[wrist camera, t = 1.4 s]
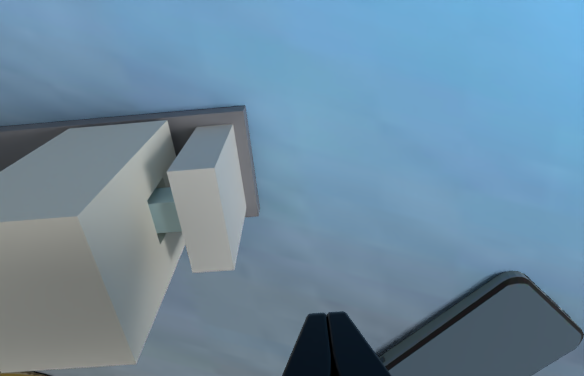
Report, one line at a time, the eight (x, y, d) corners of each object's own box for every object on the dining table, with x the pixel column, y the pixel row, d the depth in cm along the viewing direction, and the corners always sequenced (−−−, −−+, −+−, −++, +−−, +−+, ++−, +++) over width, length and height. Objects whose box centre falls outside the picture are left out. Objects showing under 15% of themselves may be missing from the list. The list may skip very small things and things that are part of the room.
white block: (192, 225, 18) (136, 364, 11) (107, 232, 18) (1, 373, 11) (167, 120, 15) (77, 216, 9) (68, 128, 15) (-93, 229, 9)
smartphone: (595, 342, 22) (397, 462, 26) (574, 320, 23) (390, 437, 28) (521, 271, 20) (317, 417, 24) (503, 252, 21) (315, 393, 26)
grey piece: (259, 207, 18) (250, 281, 14) (-100, 235, 19) (-228, 315, 14) (245, 105, 16) (227, 152, 11) (-163, 140, 17) (-339, 199, 12)
